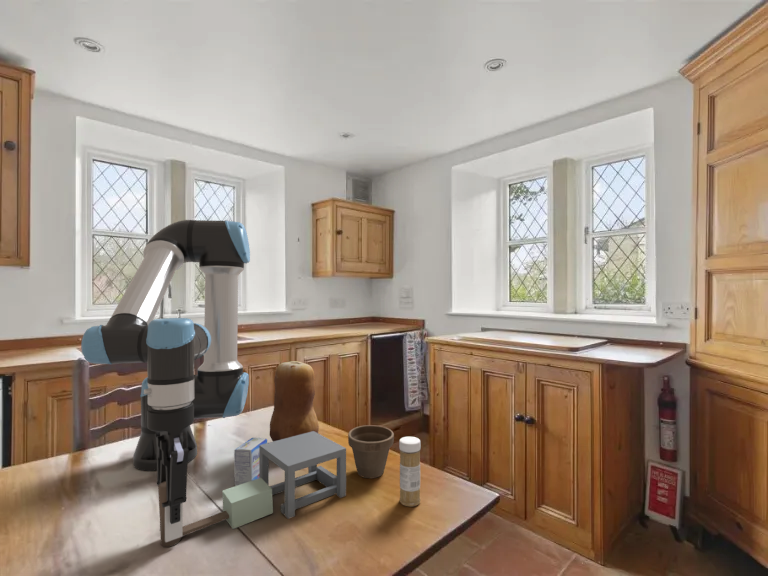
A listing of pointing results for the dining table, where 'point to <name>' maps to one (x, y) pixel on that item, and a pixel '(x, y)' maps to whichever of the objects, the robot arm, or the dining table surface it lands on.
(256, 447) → the medicine box
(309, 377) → the butternut squash
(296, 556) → the dining table surface
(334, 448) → the grey step stool
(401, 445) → the sprinkles bottle
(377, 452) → the flower pot
